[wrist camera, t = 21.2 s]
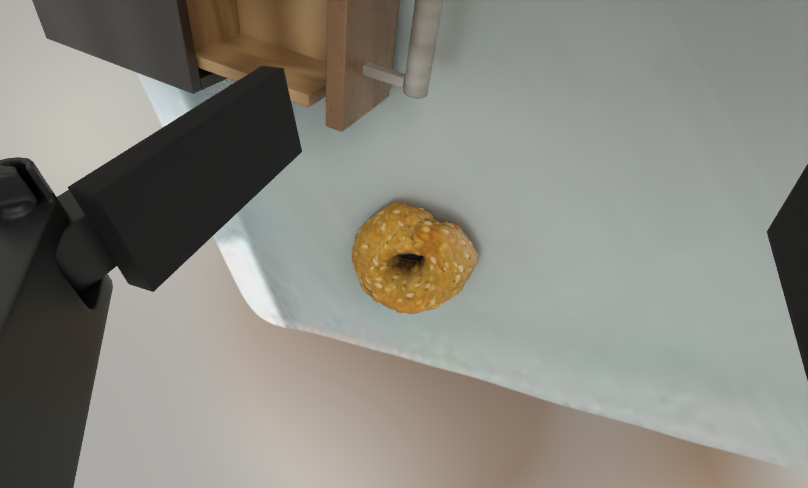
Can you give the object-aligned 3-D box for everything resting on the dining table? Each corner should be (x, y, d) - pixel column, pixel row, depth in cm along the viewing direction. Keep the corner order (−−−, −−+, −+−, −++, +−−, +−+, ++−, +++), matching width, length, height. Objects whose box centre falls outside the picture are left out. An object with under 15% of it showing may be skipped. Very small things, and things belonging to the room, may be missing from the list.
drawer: (483, -90, 24) (436, -81, 19) (443, 114, 31) (402, 155, 27) (224, -146, 28) (136, -149, 23) (243, 47, 35) (180, 73, 31)
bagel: (495, 290, 40) (477, 329, 36) (390, 289, 46) (366, 323, 42) (461, 189, 35) (437, 222, 32) (350, 203, 41) (320, 232, 38)
